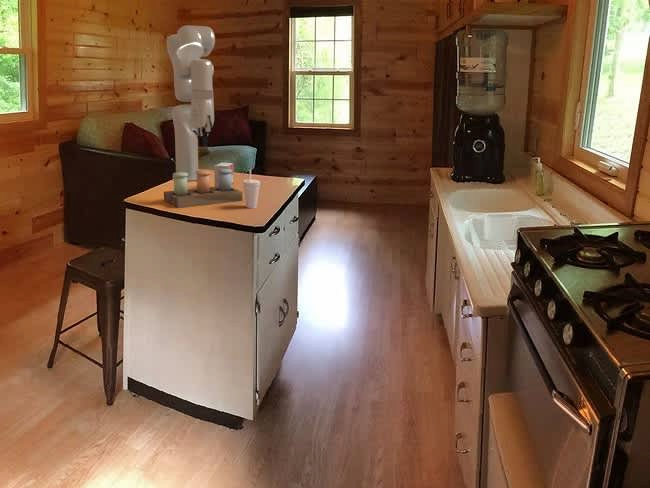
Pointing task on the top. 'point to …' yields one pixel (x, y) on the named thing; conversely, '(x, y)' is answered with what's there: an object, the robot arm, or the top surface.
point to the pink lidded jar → (203, 181)
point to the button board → (202, 197)
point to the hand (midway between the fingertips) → (202, 146)
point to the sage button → (180, 184)
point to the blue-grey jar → (224, 179)
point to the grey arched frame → (224, 166)
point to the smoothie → (251, 192)
